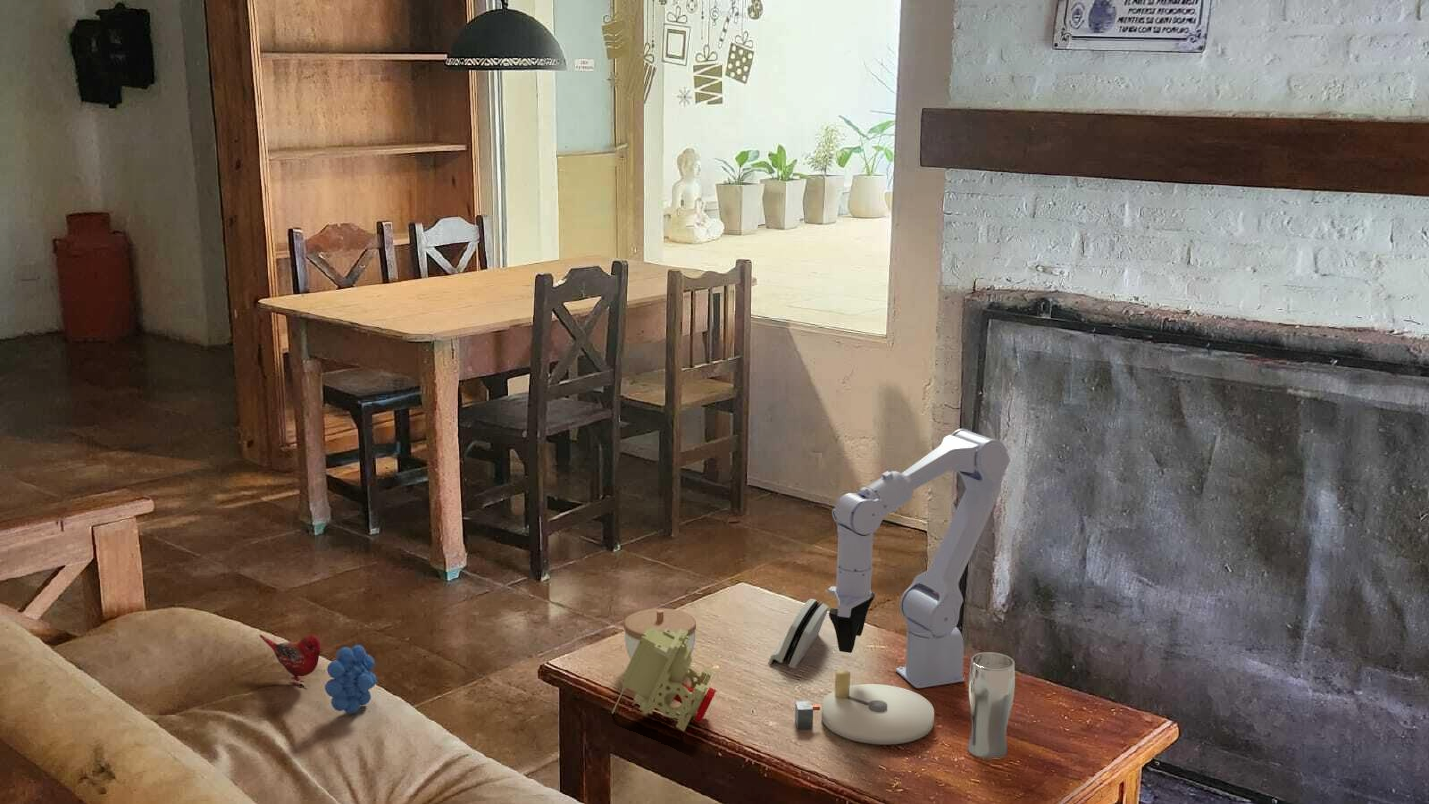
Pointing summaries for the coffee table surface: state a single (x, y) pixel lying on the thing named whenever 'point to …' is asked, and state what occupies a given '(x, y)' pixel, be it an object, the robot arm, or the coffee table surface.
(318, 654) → the decorative bird figurine
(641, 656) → the mechanical component
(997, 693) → the beer glass
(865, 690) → the turntable
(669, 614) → the lidded bowl
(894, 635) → the coffee table surface
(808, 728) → the gray block
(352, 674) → the grapes
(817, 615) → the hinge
